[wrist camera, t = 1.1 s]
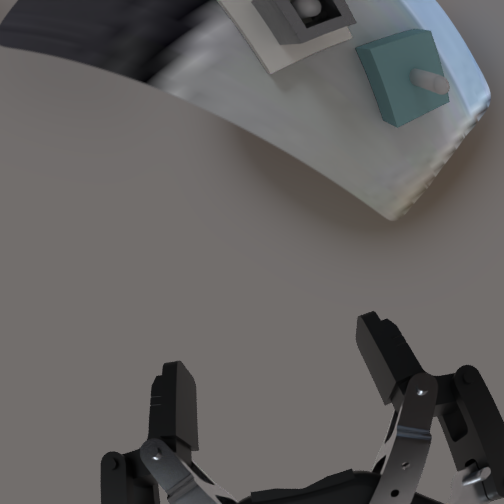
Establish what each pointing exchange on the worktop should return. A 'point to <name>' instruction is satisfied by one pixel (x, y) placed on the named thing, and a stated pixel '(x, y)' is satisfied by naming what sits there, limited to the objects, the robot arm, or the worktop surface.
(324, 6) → the metal collar
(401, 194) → the worktop surface
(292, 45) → the rod stand
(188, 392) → the robot arm
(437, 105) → the block
